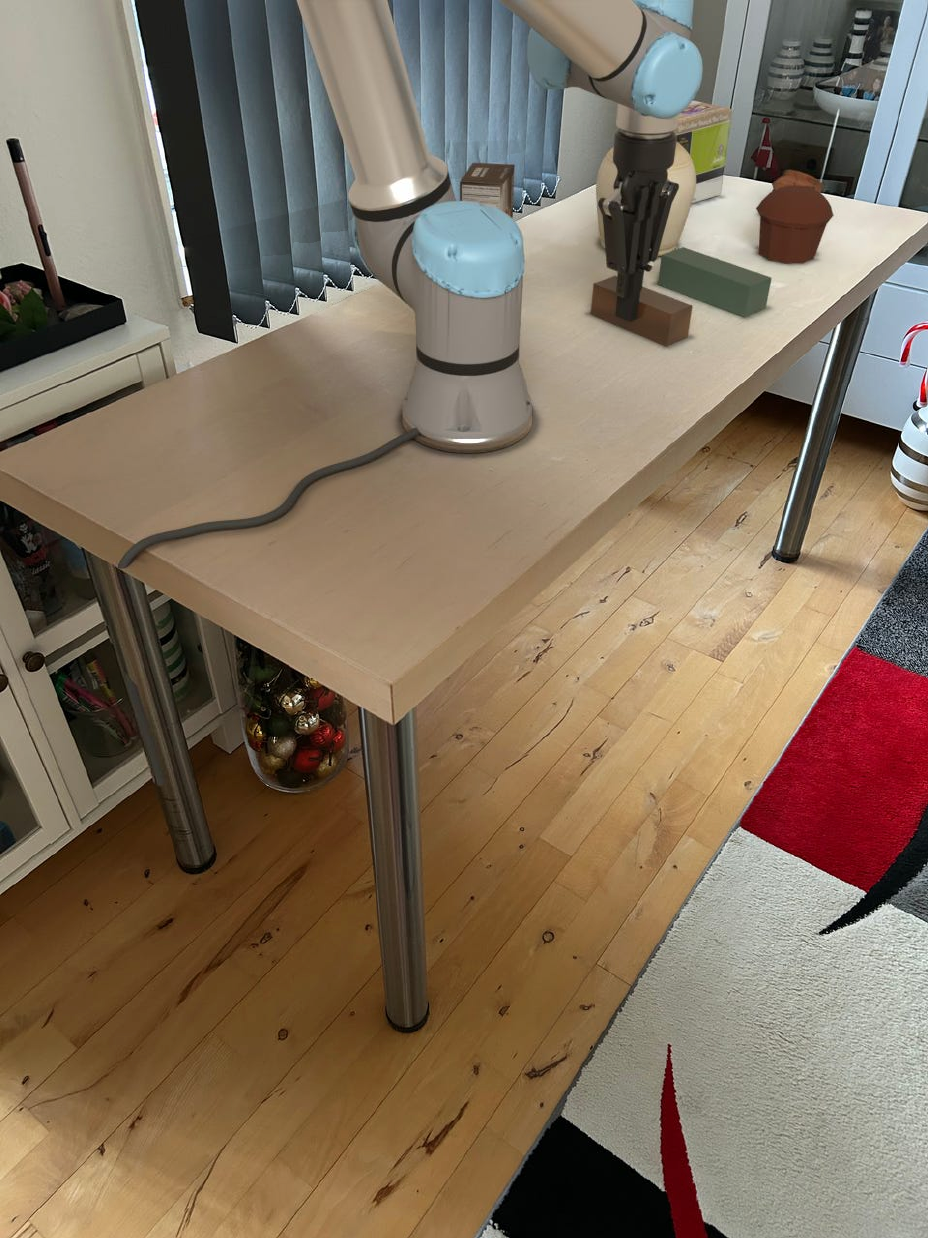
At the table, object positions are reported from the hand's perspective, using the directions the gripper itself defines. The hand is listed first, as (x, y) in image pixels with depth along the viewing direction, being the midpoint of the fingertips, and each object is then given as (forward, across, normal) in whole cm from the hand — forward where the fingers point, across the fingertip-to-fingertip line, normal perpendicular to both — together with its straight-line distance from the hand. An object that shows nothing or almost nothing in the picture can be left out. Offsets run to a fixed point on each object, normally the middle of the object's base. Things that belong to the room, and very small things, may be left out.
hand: (626, 317), depth 137 cm
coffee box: (+2, -3, +25) cm, 25 cm away
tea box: (+2, +50, +33) cm, 60 cm away
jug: (+2, +27, +21) cm, 34 cm away
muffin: (+2, +42, +3) cm, 42 cm away
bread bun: (+2, +58, +13) cm, 59 cm away
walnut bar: (+2, +3, 0) cm, 4 cm away
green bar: (+2, +19, 0) cm, 19 cm away
